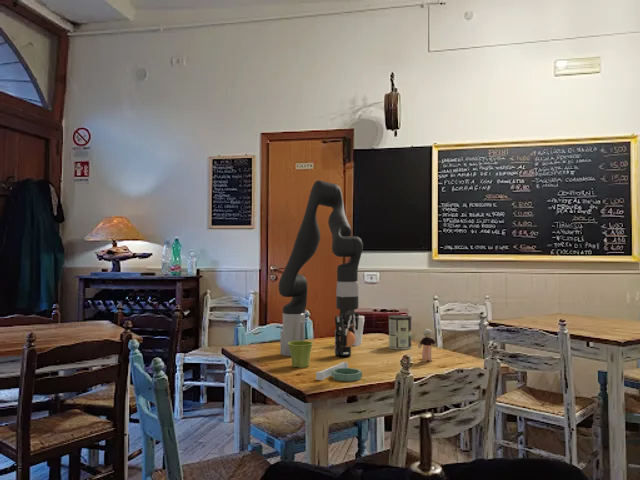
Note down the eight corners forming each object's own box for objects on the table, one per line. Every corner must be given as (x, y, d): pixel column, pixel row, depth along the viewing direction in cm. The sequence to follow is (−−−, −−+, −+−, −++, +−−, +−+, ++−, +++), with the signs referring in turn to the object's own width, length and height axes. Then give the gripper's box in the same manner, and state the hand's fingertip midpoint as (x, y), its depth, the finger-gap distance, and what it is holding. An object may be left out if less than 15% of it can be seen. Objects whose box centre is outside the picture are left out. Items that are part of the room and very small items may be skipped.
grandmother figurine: (423, 362, 196) (423, 329, 196) (417, 361, 199) (416, 328, 200) (438, 361, 199) (438, 328, 200) (432, 359, 203) (432, 327, 203)
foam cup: (351, 342, 242) (351, 314, 242) (368, 344, 236) (368, 316, 237) (340, 344, 234) (340, 316, 235) (357, 347, 229) (357, 318, 229)
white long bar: (316, 379, 169) (316, 371, 169) (342, 368, 185) (342, 361, 185) (322, 380, 167) (322, 372, 167) (348, 369, 184) (348, 362, 184)
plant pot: (292, 370, 182) (293, 345, 183) (284, 364, 191) (284, 341, 191) (316, 367, 186) (316, 344, 186) (307, 362, 195) (307, 340, 195)
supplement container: (345, 354, 212) (346, 329, 213) (354, 357, 206) (354, 331, 207) (331, 355, 209) (331, 330, 210) (339, 358, 203) (339, 332, 204)
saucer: (327, 378, 169) (327, 372, 169) (340, 373, 178) (340, 366, 178) (353, 382, 165) (353, 375, 165) (365, 376, 173) (365, 370, 173)
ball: (336, 347, 170) (336, 331, 171) (343, 344, 175) (344, 329, 175) (351, 348, 168) (351, 332, 168) (358, 346, 172) (358, 330, 173)
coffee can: (400, 344, 235) (400, 314, 236) (416, 348, 227) (416, 316, 227) (383, 346, 230) (383, 315, 230) (399, 350, 221) (399, 318, 222)
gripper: (346, 293, 180) (347, 341, 180) (327, 295, 168) (327, 347, 167) (366, 293, 176) (366, 342, 176) (347, 296, 164) (347, 349, 163)
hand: (347, 344), depth 171 cm, fingers closed on ball, 5 cm apart
